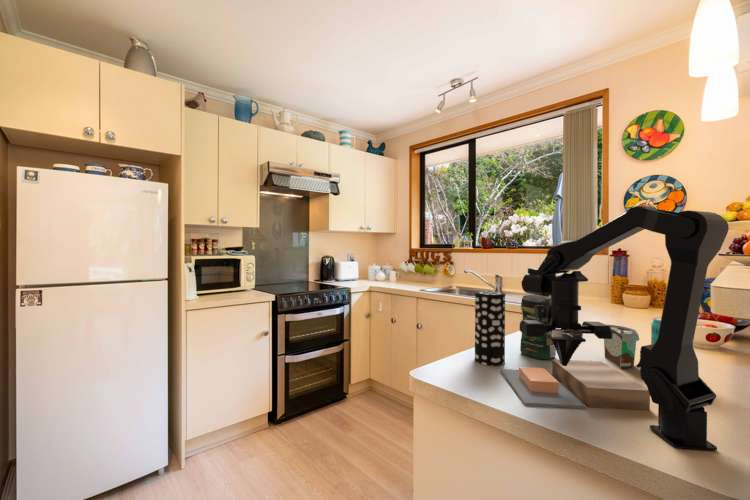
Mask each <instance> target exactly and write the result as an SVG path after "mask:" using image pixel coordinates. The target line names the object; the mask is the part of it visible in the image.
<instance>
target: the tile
mask: <svg viewBox="0 0 750 500" xmlns="http://www.w3.org/2000/svg"><path fill="white" fill-rule="evenodd" d="M518 370H519V377H520V378H521V380H522V381H523V382H524V384H525V385H526V386H527V387H528V389H529V390H530V391H532V392H551V393H559V382H560V381H559V380H558V379H557V378H556V377H554V376H553V375H552V373H550V372H549V371H548V370H547V369H546V368H544V367H525V366H519V367H518ZM547 371H548V372H549V373H548V372H547ZM557 380H558V381H559V382H558V381H557Z"/></svg>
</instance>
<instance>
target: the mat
mask: <svg viewBox="0 0 750 500" xmlns="http://www.w3.org/2000/svg"><path fill="white" fill-rule="evenodd" d="M499 371H500V373H501V375H502V376H503V377H504V378H505V380H506V382H507V383H508V384H509V386H510V387H511V388H512V390H513V391H514V393H515V394H516V395H517V397H518V398H519V400H520V401H521V402H522V404H523V405H524V406H525V407H545V408H561V409H562V408H565V409H566V408H567V409H581V410H582V409H583V410H585V409H586V405H585V404H584V403H583V402H582V401H581V400H580V399H579V398H578V397H577V396H576V395H574V394H573V393H572V392H571V391H570V390H569V389H568V388H567V387H566V386H564V385H563V384H562V383H561V382H560V381H559V380H558V379H556V380H557V381H558V382H559V393H551V392H532V391H530V390H529V389H528V387H527V386H526V385H525V384H524V382H523V381H522V380H521V378H520V377H519V369H512V368H511V369H510V368H509V369H508V368H500V369H499ZM546 371H547V372H548V373H550V372H549V371H548V370H546Z"/></svg>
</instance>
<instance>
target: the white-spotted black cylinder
mask: <svg viewBox="0 0 750 500" xmlns="http://www.w3.org/2000/svg"><path fill="white" fill-rule="evenodd" d="M505 348H506V293H505V292H501V291H493V290H492V291H489V290H479V291H478V290H477V291H475V292H474V361H475V362H476V363H478V364H480V365H483V366H489V367H499V366H503V365H504V364H505V363H506V361H505V360H506V359H505V358H506V357H505V355H506V351H505V350H506V349H505Z"/></svg>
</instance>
